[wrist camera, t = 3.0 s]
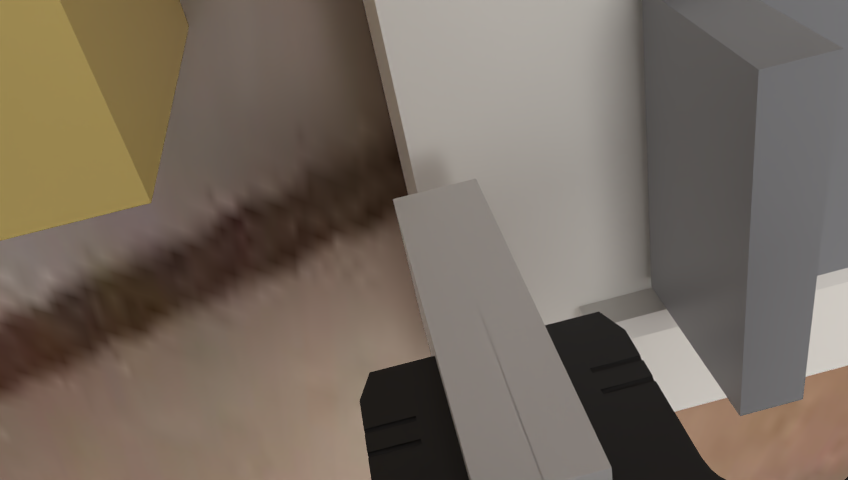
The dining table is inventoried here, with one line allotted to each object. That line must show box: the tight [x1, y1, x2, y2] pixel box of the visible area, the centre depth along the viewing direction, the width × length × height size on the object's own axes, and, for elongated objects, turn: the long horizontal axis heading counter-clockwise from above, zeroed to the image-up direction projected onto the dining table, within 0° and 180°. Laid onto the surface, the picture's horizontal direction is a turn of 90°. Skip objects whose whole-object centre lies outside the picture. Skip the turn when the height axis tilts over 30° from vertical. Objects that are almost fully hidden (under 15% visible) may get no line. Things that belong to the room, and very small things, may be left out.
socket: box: [363, 0, 848, 412], centre depth 18 cm, size 16×18×6 cm
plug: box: [0, 0, 189, 241], centre depth 14 cm, size 4×4×8 cm
